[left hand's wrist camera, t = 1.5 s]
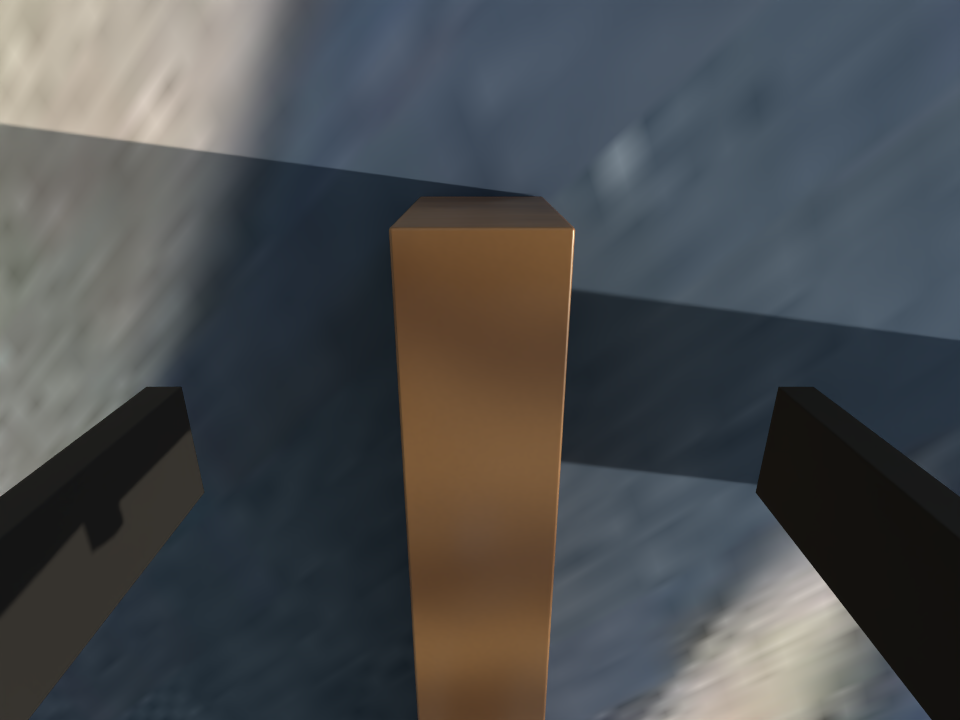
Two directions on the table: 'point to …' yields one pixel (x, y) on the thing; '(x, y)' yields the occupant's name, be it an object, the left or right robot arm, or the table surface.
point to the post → (481, 444)
